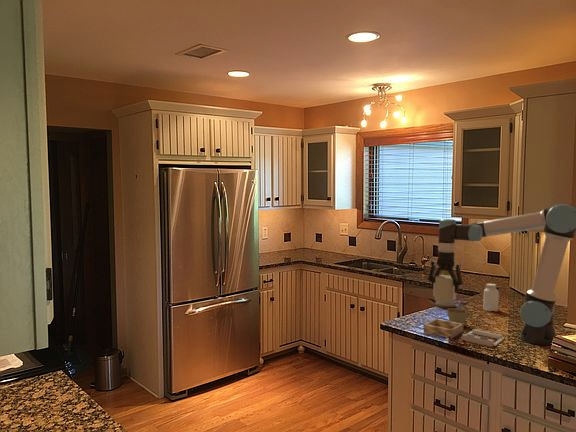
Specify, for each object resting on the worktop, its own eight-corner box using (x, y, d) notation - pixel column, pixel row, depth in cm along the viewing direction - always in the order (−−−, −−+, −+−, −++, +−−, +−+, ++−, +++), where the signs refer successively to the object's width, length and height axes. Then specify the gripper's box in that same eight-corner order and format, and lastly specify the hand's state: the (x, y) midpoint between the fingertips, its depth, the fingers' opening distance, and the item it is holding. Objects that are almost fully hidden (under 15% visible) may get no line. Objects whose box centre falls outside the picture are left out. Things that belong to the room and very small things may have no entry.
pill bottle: (479, 309, 276) (480, 283, 275) (489, 307, 279) (490, 282, 278) (491, 312, 269) (492, 286, 268) (501, 311, 272) (502, 285, 271)
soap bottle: (456, 304, 286) (457, 261, 285) (454, 308, 276) (455, 264, 274) (436, 302, 291) (438, 259, 289) (433, 306, 281) (435, 262, 279)
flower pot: (462, 321, 250) (462, 308, 249) (470, 327, 240) (470, 313, 239) (443, 321, 250) (444, 308, 249) (450, 327, 240) (451, 313, 239)
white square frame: (504, 339, 222) (504, 332, 221) (494, 347, 210) (494, 340, 210) (470, 332, 232) (471, 325, 231) (459, 339, 220) (459, 332, 220)
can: (430, 300, 231) (431, 275, 230) (440, 297, 237) (441, 273, 237) (448, 303, 224) (449, 278, 224) (458, 300, 230) (459, 276, 230)
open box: (463, 331, 233) (463, 323, 232) (451, 338, 222) (452, 330, 222) (435, 325, 242) (435, 318, 241) (423, 332, 231) (423, 324, 231)
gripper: (471, 252, 225) (469, 299, 227) (428, 248, 239) (426, 292, 241) (465, 254, 219) (463, 302, 221) (421, 249, 233) (420, 295, 235)
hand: (444, 297), depth 231 cm, fingers closed on can, 9 cm apart
